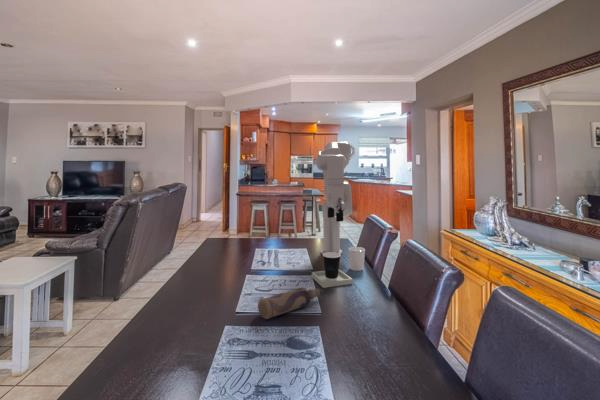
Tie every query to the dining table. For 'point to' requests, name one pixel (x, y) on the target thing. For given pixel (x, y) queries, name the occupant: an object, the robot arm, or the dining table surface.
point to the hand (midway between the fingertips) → (335, 219)
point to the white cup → (356, 258)
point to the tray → (341, 280)
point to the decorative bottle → (286, 302)
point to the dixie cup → (331, 265)
